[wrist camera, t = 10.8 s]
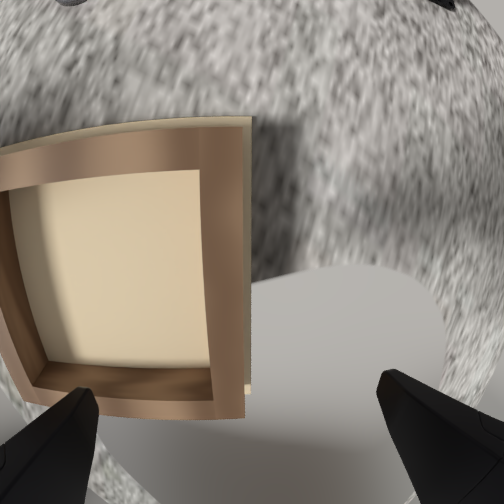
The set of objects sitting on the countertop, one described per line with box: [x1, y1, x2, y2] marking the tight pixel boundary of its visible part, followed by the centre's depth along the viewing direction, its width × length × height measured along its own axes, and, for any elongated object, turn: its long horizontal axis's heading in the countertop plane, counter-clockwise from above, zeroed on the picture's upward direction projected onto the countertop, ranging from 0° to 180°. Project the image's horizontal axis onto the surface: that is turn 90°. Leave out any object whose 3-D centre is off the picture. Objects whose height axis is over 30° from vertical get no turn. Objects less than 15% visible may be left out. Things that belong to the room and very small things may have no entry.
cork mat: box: [0, 116, 252, 394], centre depth 18 cm, size 20×20×1 cm
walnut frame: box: [0, 127, 245, 420], centre depth 16 cm, size 18×18×4 cm
